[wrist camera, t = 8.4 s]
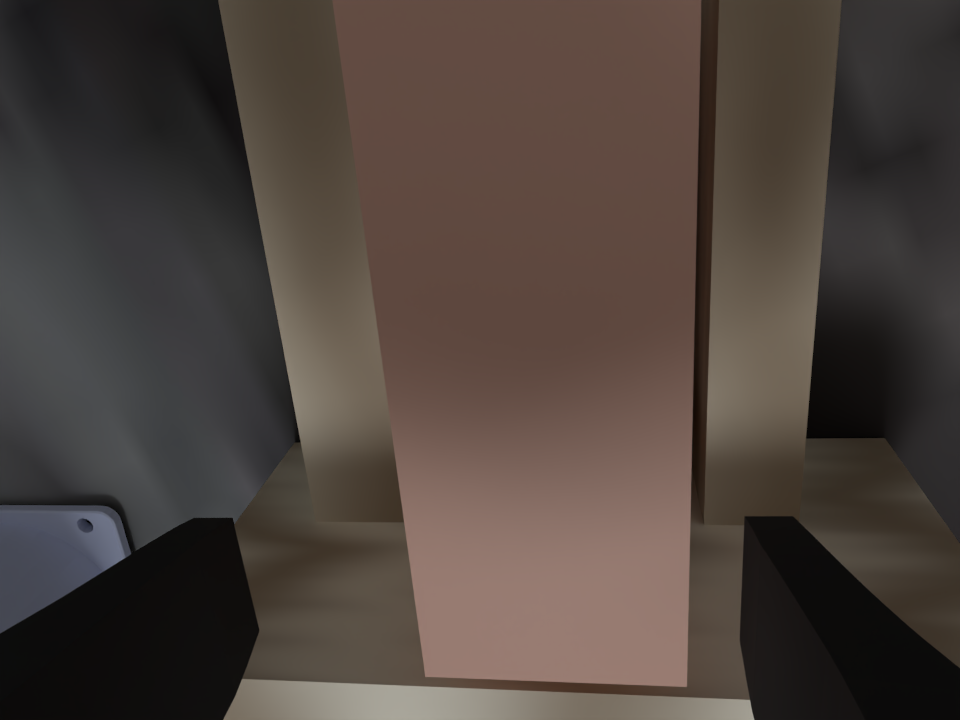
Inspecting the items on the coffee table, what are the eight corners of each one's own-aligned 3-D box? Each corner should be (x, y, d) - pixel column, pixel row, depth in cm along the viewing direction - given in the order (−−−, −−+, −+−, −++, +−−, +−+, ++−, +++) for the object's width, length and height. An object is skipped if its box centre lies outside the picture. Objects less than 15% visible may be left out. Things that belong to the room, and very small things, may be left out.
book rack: (303, 487, 23) (143, 734, 15) (207, -14, 18) (-108, -51, 10) (878, 488, 21) (1060, 784, 13) (949, -92, 16) (1330, -223, 8)
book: (497, 403, 22) (425, 677, 12) (464, -12, 18) (324, -58, 9) (646, 401, 21) (687, 686, 12) (646, -30, 17) (703, -100, 8)
